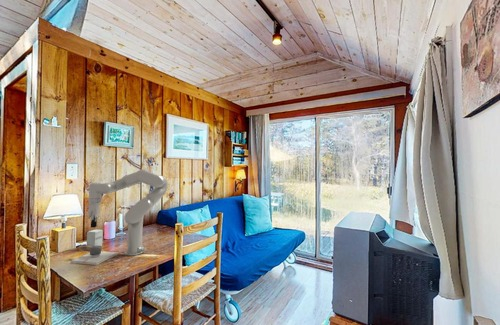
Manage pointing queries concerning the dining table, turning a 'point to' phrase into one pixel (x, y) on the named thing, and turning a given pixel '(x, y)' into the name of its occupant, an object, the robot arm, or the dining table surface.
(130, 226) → the robot arm
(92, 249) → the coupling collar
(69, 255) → the dining table surface
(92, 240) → the supplement box
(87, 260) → the post base
